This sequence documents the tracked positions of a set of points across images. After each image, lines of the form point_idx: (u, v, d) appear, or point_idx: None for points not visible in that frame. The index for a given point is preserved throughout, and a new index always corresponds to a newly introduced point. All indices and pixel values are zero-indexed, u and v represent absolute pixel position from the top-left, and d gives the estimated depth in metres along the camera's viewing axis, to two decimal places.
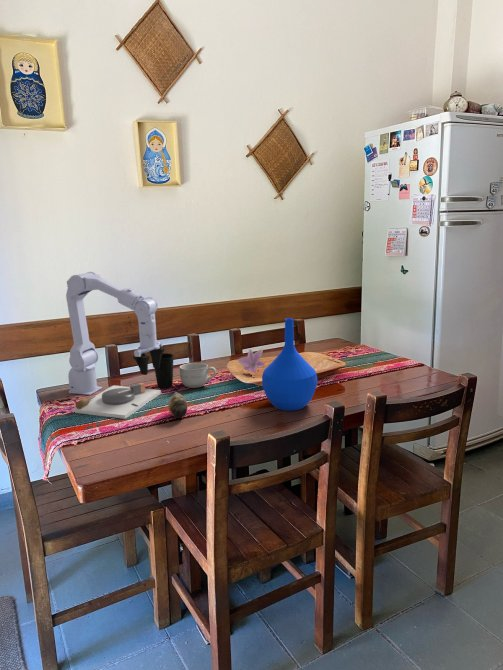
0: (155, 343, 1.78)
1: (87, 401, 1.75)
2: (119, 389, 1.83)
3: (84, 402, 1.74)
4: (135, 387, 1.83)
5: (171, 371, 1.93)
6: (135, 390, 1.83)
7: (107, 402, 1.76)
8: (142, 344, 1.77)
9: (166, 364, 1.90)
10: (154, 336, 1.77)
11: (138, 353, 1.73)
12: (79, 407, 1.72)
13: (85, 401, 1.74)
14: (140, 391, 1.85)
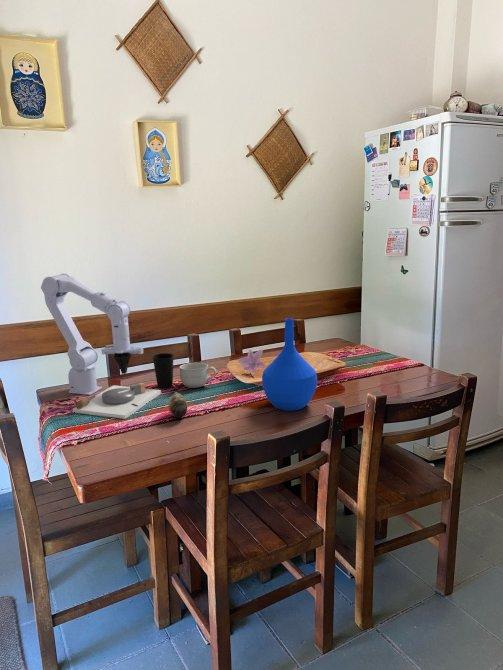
0: (119, 347, 1.82)
1: (87, 401, 1.75)
2: (119, 389, 1.83)
3: (84, 402, 1.74)
4: (135, 387, 1.83)
5: (171, 371, 1.93)
6: (135, 390, 1.83)
7: (107, 402, 1.76)
8: None
9: (166, 364, 1.90)
10: (118, 340, 1.81)
11: None
12: (79, 407, 1.72)
13: (85, 401, 1.74)
14: (140, 391, 1.85)
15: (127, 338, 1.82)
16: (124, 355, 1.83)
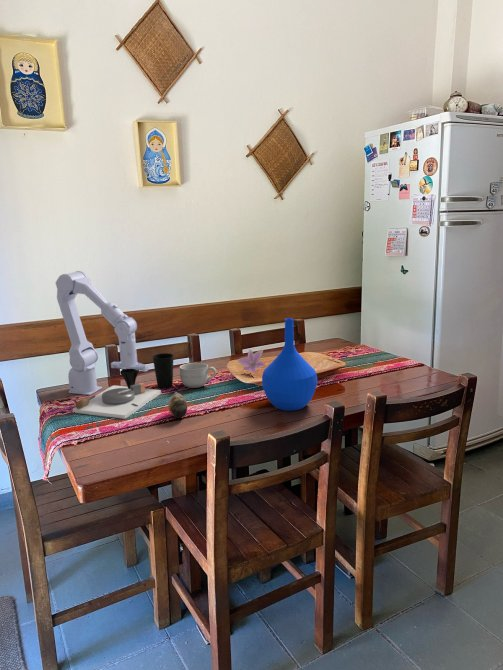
0: (124, 363, 1.82)
1: (87, 401, 1.75)
2: (119, 389, 1.83)
3: (84, 402, 1.74)
4: (135, 387, 1.83)
5: (171, 371, 1.93)
6: (135, 390, 1.83)
7: (107, 402, 1.76)
8: None
9: (166, 364, 1.90)
10: (123, 356, 1.82)
11: None
12: (79, 407, 1.72)
13: (85, 401, 1.74)
14: (140, 391, 1.85)
15: (132, 354, 1.82)
16: (129, 371, 1.83)
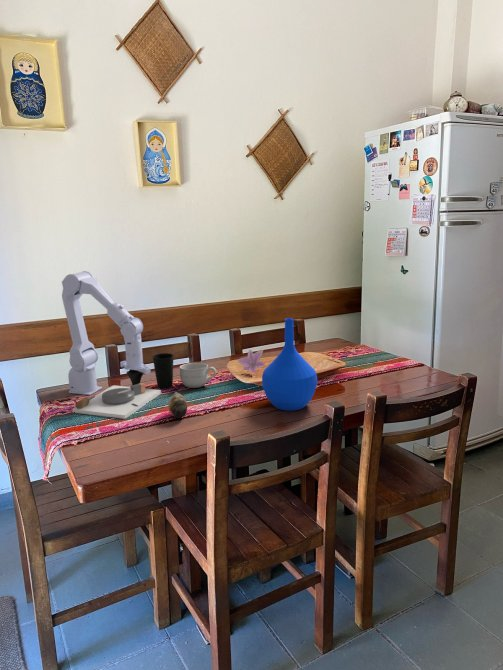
0: (128, 364, 1.82)
1: (87, 401, 1.75)
2: (119, 389, 1.83)
3: (84, 402, 1.74)
4: (135, 387, 1.83)
5: (171, 371, 1.93)
6: (135, 390, 1.83)
7: (107, 402, 1.76)
8: None
9: (166, 364, 1.90)
10: (127, 356, 1.81)
11: None
12: (79, 407, 1.72)
13: (85, 401, 1.74)
14: (140, 391, 1.85)
15: (136, 356, 1.81)
16: (132, 372, 1.83)
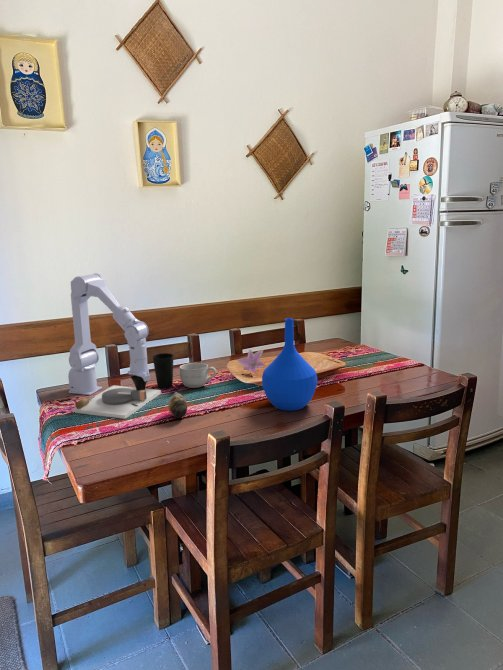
0: (131, 368, 1.77)
1: (87, 401, 1.75)
2: (127, 390, 1.82)
3: (84, 402, 1.74)
4: (133, 393, 1.78)
5: (171, 371, 1.93)
6: (134, 395, 1.78)
7: None
8: None
9: (166, 364, 1.90)
10: (130, 361, 1.76)
11: None
12: (79, 407, 1.72)
13: (85, 401, 1.74)
14: (139, 398, 1.78)
15: (138, 361, 1.75)
16: (135, 377, 1.78)
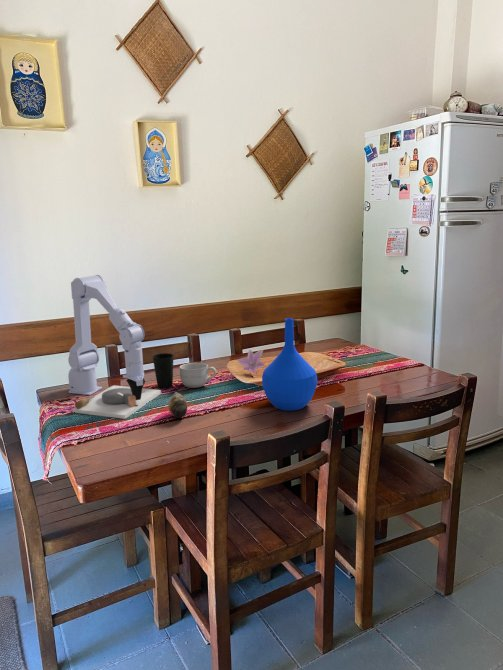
0: (126, 372, 1.73)
1: (86, 400, 1.75)
2: (128, 392, 1.81)
3: (83, 401, 1.74)
4: (124, 396, 1.75)
5: (171, 371, 1.93)
6: (125, 399, 1.75)
7: None
8: None
9: (166, 364, 1.90)
10: None
11: None
12: (79, 407, 1.72)
13: (84, 400, 1.74)
14: (128, 403, 1.74)
15: (132, 365, 1.71)
16: (130, 381, 1.73)
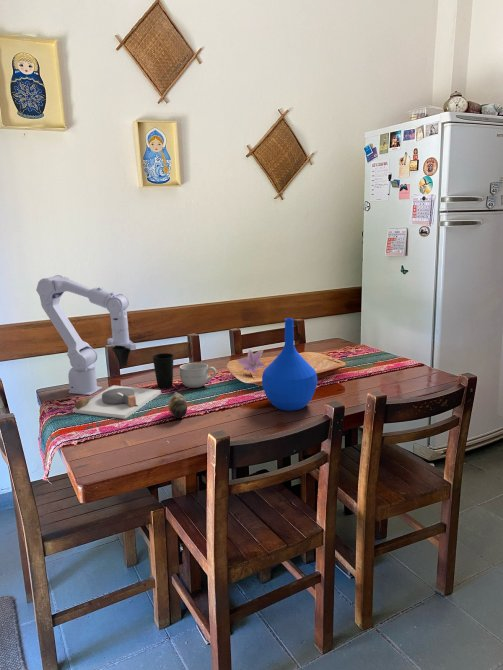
0: (114, 340, 1.83)
1: (86, 400, 1.75)
2: (128, 392, 1.81)
3: (83, 401, 1.74)
4: (124, 396, 1.75)
5: (171, 371, 1.93)
6: (125, 399, 1.75)
7: None
8: None
9: (166, 364, 1.90)
10: (113, 332, 1.82)
11: None
12: (79, 407, 1.72)
13: (84, 400, 1.74)
14: (128, 403, 1.74)
15: (121, 332, 1.82)
16: (119, 348, 1.83)
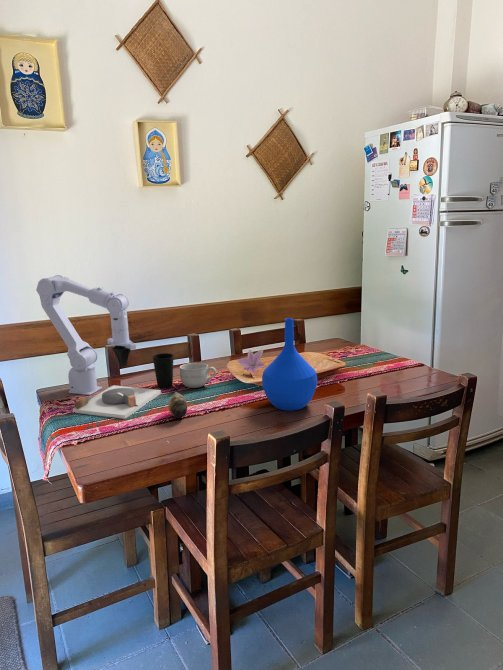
0: (114, 340, 1.83)
1: (85, 400, 1.75)
2: (128, 392, 1.81)
3: (82, 401, 1.74)
4: (124, 396, 1.75)
5: (171, 371, 1.93)
6: (125, 399, 1.75)
7: None
8: None
9: (166, 364, 1.90)
10: (113, 332, 1.82)
11: None
12: (78, 406, 1.72)
13: (83, 400, 1.74)
14: (128, 403, 1.74)
15: (121, 332, 1.82)
16: (119, 348, 1.83)
